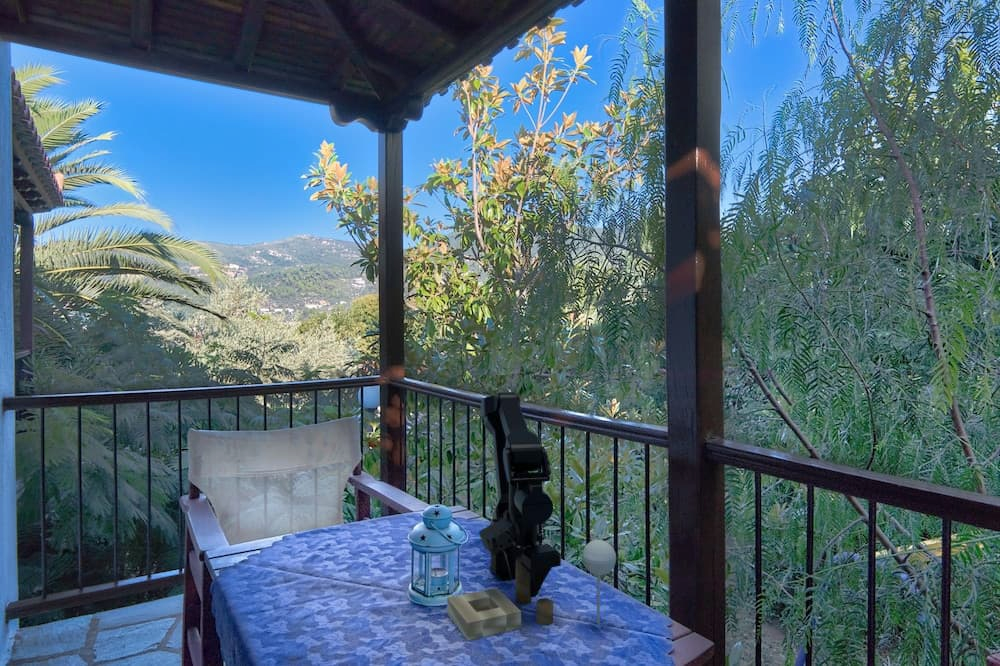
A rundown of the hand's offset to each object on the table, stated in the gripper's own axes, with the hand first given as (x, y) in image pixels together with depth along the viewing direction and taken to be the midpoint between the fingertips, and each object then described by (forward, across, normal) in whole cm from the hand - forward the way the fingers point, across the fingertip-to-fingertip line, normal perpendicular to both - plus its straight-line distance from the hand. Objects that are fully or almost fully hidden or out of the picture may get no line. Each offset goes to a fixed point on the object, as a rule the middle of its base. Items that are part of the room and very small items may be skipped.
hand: (523, 587), depth 117 cm
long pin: (+2, 0, 0) cm, 2 cm away
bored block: (+2, +4, -10) cm, 11 cm away
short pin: (+3, +8, 0) cm, 9 cm away
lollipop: (+3, +14, +8) cm, 16 cm away
